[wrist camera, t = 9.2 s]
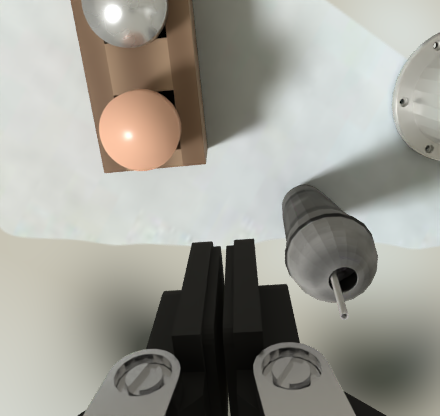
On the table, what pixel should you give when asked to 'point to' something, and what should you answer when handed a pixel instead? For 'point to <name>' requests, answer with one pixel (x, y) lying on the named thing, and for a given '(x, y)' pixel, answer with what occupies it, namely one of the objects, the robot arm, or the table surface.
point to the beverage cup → (326, 248)
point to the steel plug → (126, 20)
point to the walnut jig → (149, 78)
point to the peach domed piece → (140, 129)
